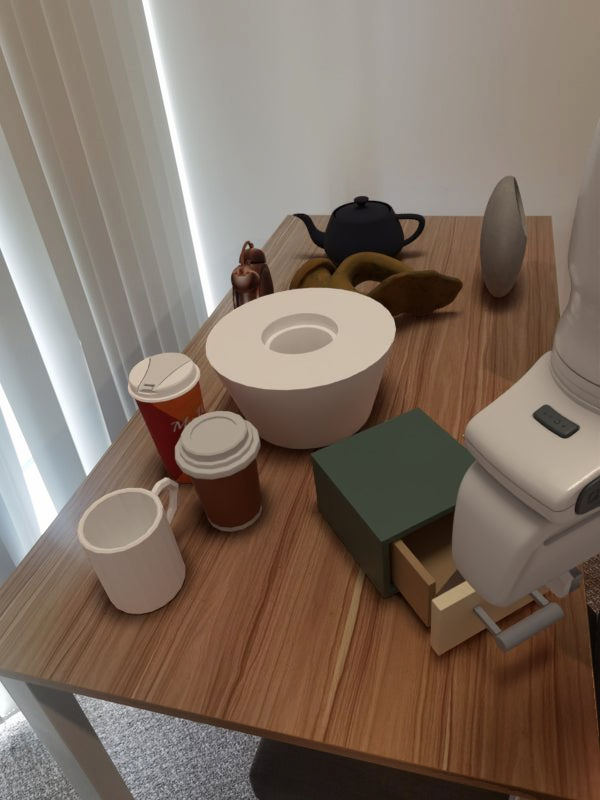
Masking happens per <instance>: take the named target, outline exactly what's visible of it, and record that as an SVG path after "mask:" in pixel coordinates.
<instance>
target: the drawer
mask: <svg viewBox="0 0 600 800" xmlns="http://www.w3.org/2000/svg"><path fill="white" fill-rule="evenodd" d="M454 514H455V511H453V512H451V513H449V514H447V515H445V516H443V517H441V518H439V519H437V520H435V521H433V522H431V523H429V524H427V525H425V526H423V527H421V528H419V529H417V530H415V531H413V532H411V533H409V534H407V535H405V536H403V537H401V538H399V539H397V540H395V541H393V542H391V543H390V544H389V560H390V579H391V580H392V582H393V583H394V584H395V586H396V587H397V588H398V590H399V592H400V593H401V595H402V596H403V597H404V599H405V600H406V601H407V603H408V604H409V605H410V606H411V608H412V609H413V610H414V612H415V613H416V614H417V616H418V617H419V618H420V619H421V621H422V622H423V623H424V625H425V626H426V627H427V628H430V645H429V646H430V647H431V648H432V650H434V652H435V653H436V654H437V656H441V655H443V654H444V653H446V652H447V651H449V650H451V649H453V648H454V647H456V646H458V645H459V644H461V643H463V642H465V641H466V640H469V639H470V638H472V637H474V636H475V635H477V634H479V633H480V632H482V631H484V630H485V629H487V630H488V631H489V632H490V633H491V634H492V636H494V637H493V638H494V643H495V644H496V646H497V648H498V649H499V650H500V651H501V652H502V653H503V654H505V653H508V652H510V651H511V650H513V649H515V648H516V647H518V646H520V645H521V644H523V643H524V642H526V641H528V640H529V639H531V638H533V637H534V636H536V635H538V634H539V633H541V632H543V631H545V630H546V629H547V628H550V627H551V626H552V625H554V624H556V623H557V622H559V621H560V620H562V619H564V617H565V613H564V611H563V609H562V608H561V606H560V605H559V604H558V603H556V602H554V601H552V602H550V601H549V600H548V599H547V598H546V597H545V596H544V595H545V594H546V593H548V592H549V591H550V589H549V588H548V587H547V586H546V585H544V586H542V587H540V588H538V589H537V590H535V591H533V592H532V593H530V594H528V595H526V596H525V597H523V598H521V599H520V600H518V601H516V602H515V603H513V604H512V605H510V606H508V607H505V608H500V607H496V606H494V605H492V604H490V603H488V602H487V601H485V600H484V599H483V598H482V597H481V596H480V595H479V594H478V593H477V592H476V591H475V590H474V589H473V588H472V587H471V586H470V585H469V583H468V582H467V581H465V582H463V583H461V584H460V585H458V586H456V587H454V588H452V589H451V590H449V591H447V592H445V593H443V594H441V595H440V596H438V597H436V594H437V593H438V592H439V591H440V589H441V588H442V587H443V586H444V584H445V583H446V582H447V581H448V580H449V578H450V577H451V576H452V575H453V574H454V572H455V571H456V570H457V568H456V566H455V564H454V562H453V558H452V533H453V522H454ZM533 601H534V602H535V603H536V604H537V605H538V606H539V607H540V609H538V610H536V611H535V612H532V613H531V614H530V615H528V616H526V617H525V618H523V619H522V620H519V621H518V622H516V623H515V624H513V625H511V626H509V627H508V628H506V629H504V630H502V629H501V628H500V627H499V626H498V625H497V622H499V621H500V620H502V619H504V618H505V617H507V616H509V615H511V614H513V613H514V612H516V611H517V610H519V609H521V608H523V607H524V606H526V605H528V604H529V603H531V602H533Z"/></svg>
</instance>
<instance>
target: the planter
mask: <svg viewBox="0 0 600 800" xmlns="http://www.w3.org/2000/svg"><path fill="white" fill-rule="evenodd" d="M493 188H494V189H493V191H492V192H491V194H490V197H489V198H488V200H487V204H486V206H485V210H484V214H483V217H482V223H481V229H480V239H479V240H480V242H479V258H480V268H481V273H482V278H483V282H484V284H485V287H486V288H487V290H488V292H489V294H491V295H492V297H495V298H503V297H505V296H506V295H508V294H509V293H510V291H511V290H512V288H513V287H514V286H515V284H516V283H517V280H518V278H519V276H520V273H521V269H522V266H523V263H524V259H525V255H526V251H527V243H528V226H527V219H526V213H525V210H524V203H523V198H522V196H521V192H520V191H521V190H520V187H519V184H518V181H517V179H516V177H515V176H513V175H506V176H503V177H502V178H501V179H500V180H499V181H498V182H497V183H496V185H495V187H493Z"/></svg>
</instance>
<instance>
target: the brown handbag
mask: <svg viewBox="0 0 600 800" xmlns="http://www.w3.org/2000/svg"><path fill="white" fill-rule="evenodd" d="M247 246H248V247H247ZM238 263H239V264H238V265H237V266H236V267H235V268H234V269H233V270H232V272H231V275H230V283H231V286H232V288H231V289H232V291H231V293H232V305H233V310H234V309H236V308H238V307H240V306H242V305H244V304H246V303H247V302H250V301H253V300H255V299H258V298H260V297H263V296H267V295H270V294H274V293H275V287H274V282H273V278H272V273H271V270H270V267H269V266H268V264H267V258H266V254H265V252H264V251H263V250H262V249H260V248H258V247H255V245H254V243H253V242H251V241H250V240H245V242H244V244H243V245H242V248H241V251H240V254H239V259H238Z"/></svg>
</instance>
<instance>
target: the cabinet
mask: <svg viewBox="0 0 600 800" xmlns="http://www.w3.org/2000/svg"><path fill="white" fill-rule="evenodd" d="M309 455H310V460H311V467H312V473H313V480H314V488H315V494H316V501H317V507H318V508H317V509H318V511H319V512H320V514H321V515H322V516H323V518H324V520H325V521H326V522H327V523H328V525H329V526H330V527H331V528H332V530H333V531H334V533H335V534H336V535H337V537H338V538H339V539H340V540H341V542H342V543H343V545H344V546H345V548H346V549H347V551H348V552H349V553H350V555H351V556H352V557H353V559H354V560H355V561H356V563H357V564H358V565H359V567H360V568H361V570H362V571H363V572H364V573H365V575H366V576H367V577H368V579H369V580H370V583H372V585H373V586H374V587H375V589H376V590H377V592H378V593H379V594H380V595H381V597H382V598H383V599H384V600H385V599H388V598H390V597H391V596H394V595H395V594H397V593H398V592H400V591H399V590H398V588H397V587H396V586H395V584H394V583H393V582H392V580H391V579H390V560H389V544H390V543H391V542H393V541H395V540H397V539H399V538H401V537H403V536H405V535H407V534H409V533H411V532H413V531H415V530H417V529H419V528H421V527H423V526H425V525H427V524H429V523H431V522H433V521H435V520H437V519H439V518H441V517H443V516H445V515H447V514H449V513H451V512H453V511H455V507H456V500H457V495H458V491H459V487H460V484H461V482H462V480H463V477H464V475H465V474H466V472H467V471H468V469H469V468H470V466H471V465H472V464H473V463H474V462H475V461H476V459H475V458H474V457H473V456H472V454H471V453H470V452H469V451H468V450H467V449H466V447H465V445H463V444H462V443H460V442H459V441H458V440H457V439H455V437H453V436H452V434H450V433H449V432H448V431H446V430H445V429H444V428H443V427H442V426H441V425H440V424H439V423H437V422H436V421H435V420H434V419H433V418H432V417H430V416H429V415H428V414H427V413H426V412H425V411H423V410H422V409H421V407H415V408H413V409H410V410H408V411H406V412H404V413H401V414H399V415H396V416H395V417H392V418H390V419H388V420H385V421H383V422H381V423H378V424H376V425H373V426H371V427H369V428H367V429H364V430H362V431H360V432H358V433H357V432H356V433H354V434H353V435H351V436H350V437H348V438H346V439H344V440H341V441H339V442H337V443H334V444H331V445H328V446H324V447H322V448H321V449H318V450H316V451H314V452H311V453H310V454H309Z"/></svg>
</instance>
